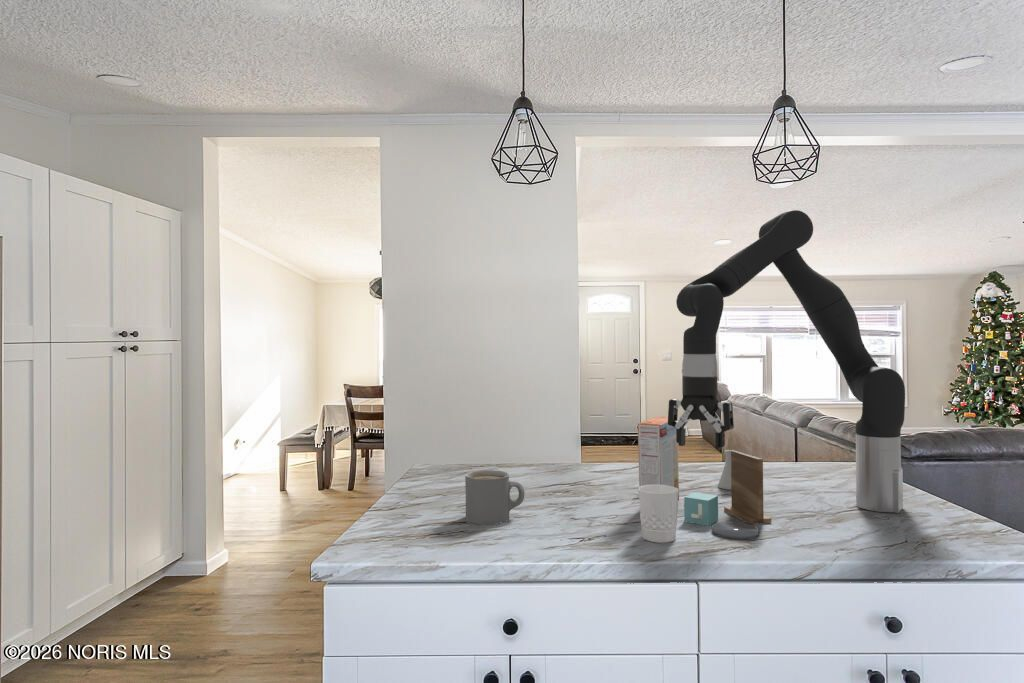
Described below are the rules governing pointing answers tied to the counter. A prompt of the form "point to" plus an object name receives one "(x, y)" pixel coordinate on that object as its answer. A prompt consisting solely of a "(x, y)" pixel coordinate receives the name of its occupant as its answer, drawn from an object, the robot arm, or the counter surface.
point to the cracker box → (658, 453)
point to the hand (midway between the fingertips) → (700, 447)
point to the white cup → (658, 512)
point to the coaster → (734, 530)
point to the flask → (726, 472)
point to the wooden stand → (747, 488)
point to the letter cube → (701, 508)
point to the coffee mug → (490, 496)
